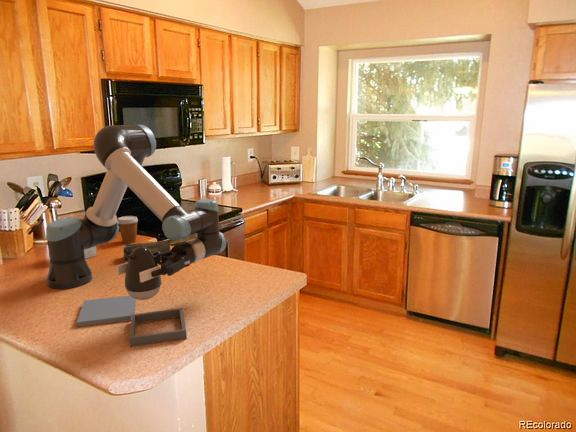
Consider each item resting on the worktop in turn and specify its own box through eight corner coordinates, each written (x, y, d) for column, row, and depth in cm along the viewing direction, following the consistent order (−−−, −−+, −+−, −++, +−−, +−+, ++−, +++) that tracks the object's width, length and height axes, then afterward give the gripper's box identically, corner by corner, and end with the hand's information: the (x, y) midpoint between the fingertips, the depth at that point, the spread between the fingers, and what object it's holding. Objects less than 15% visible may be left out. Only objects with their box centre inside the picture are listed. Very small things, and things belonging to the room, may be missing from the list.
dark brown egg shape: (117, 300, 125) (112, 250, 121) (141, 287, 134) (138, 240, 131) (146, 306, 121) (142, 254, 118) (169, 292, 131) (166, 244, 127)
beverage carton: (126, 256, 192) (124, 242, 191) (170, 253, 197) (170, 239, 195) (124, 262, 185) (122, 247, 183) (170, 258, 189) (169, 244, 188)
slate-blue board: (77, 327, 129) (76, 322, 128) (84, 304, 144) (84, 300, 143) (134, 319, 133) (133, 315, 133) (135, 298, 148) (135, 294, 148)
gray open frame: (130, 346, 118) (129, 338, 117) (132, 322, 132) (131, 314, 131) (186, 338, 122) (186, 330, 122) (182, 315, 136) (182, 307, 136)
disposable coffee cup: (135, 244, 209) (133, 220, 206) (116, 244, 209) (113, 220, 206) (142, 238, 218) (140, 215, 216) (123, 238, 218) (121, 215, 216)
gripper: (213, 270, 135) (156, 295, 117) (164, 257, 147) (106, 278, 129) (212, 247, 134) (154, 269, 115) (163, 236, 145) (103, 254, 127)
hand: (129, 273), depth 122 cm, fingers closed on dark brown egg shape, 9 cm apart
